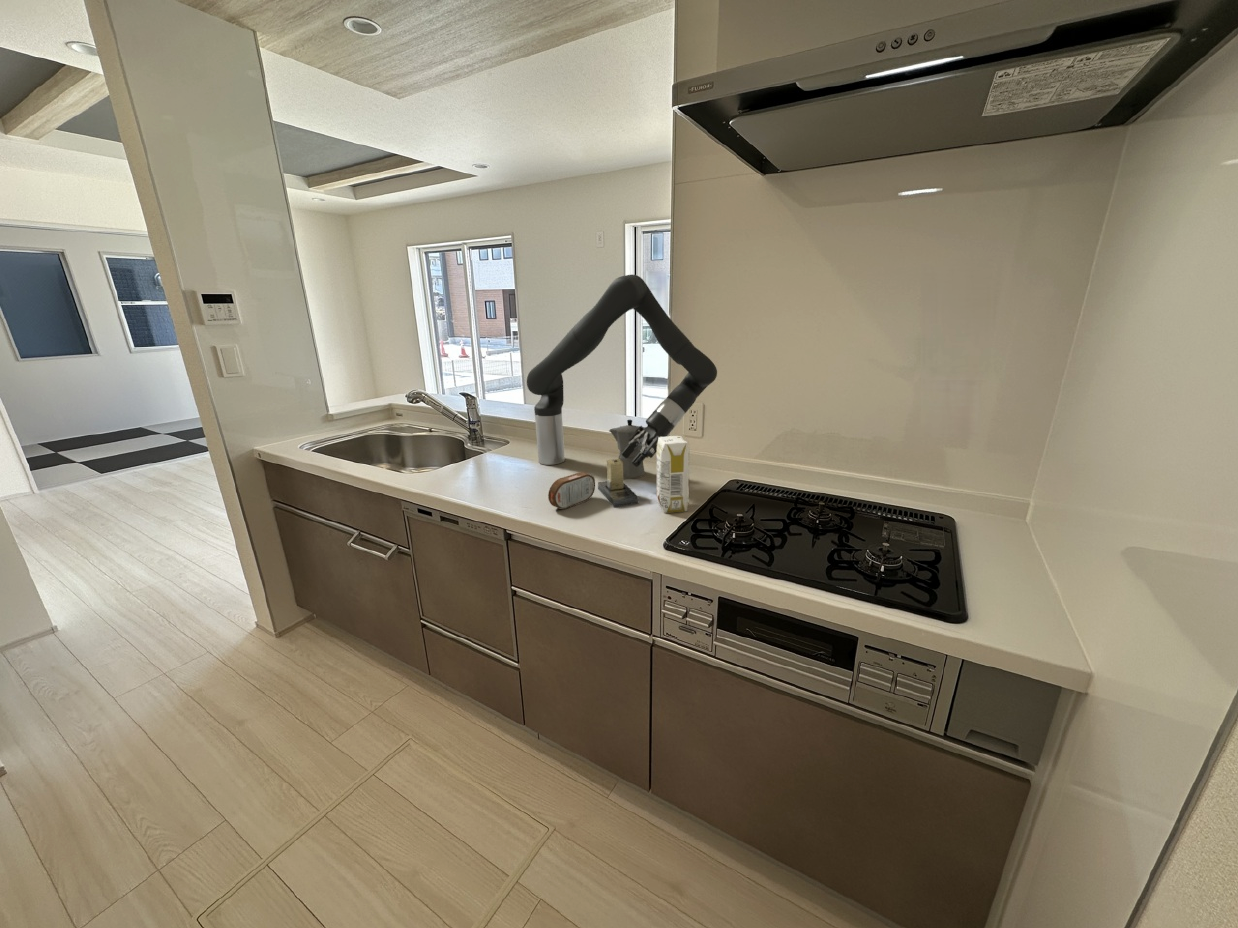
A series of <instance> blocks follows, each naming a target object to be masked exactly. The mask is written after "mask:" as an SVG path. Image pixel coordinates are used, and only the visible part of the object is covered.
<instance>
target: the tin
mask: <svg viewBox="0 0 1238 928" xmlns="http://www.w3.org/2000/svg"><path fill="white" fill-rule="evenodd" d="M595 489H596V480H595V477H594V476H593V475H591V474H590V473H588V472H586V471H578V472H577V473H573V474H570V475H566V476H564V477H560V478H557V479H556V480H555V481H554V482H552V484H551V486H550V488H549V490H548V495H547V500H548V501H549V503H550V505H551V506H553V507H555V508H557V509H560V510H566V509H569V508H571V507H573V506H576V505H579V504H582V503H585V502H587V501H589V500H590V499H591V498H592V496H593V495H594V493H595Z"/></svg>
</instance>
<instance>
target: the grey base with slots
mask: <svg viewBox="0 0 1238 928" xmlns="http://www.w3.org/2000/svg"><path fill="white" fill-rule="evenodd" d="M597 489H598V490H599V491H600V492H601V494H602V496H604V497H605V498H606V500H607V501H608V502H609V503H610V504H611V506H613V508H617V507H626V506H631V505H636V504H639V496H638V494H636V493H635V491H633V490H632V489H631V488H630V487H629V486H628V485H627V484H626V483H624V490H618V491H611V492H610V491H609V490H608V489H607V480H605V481H598V482H597Z"/></svg>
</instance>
